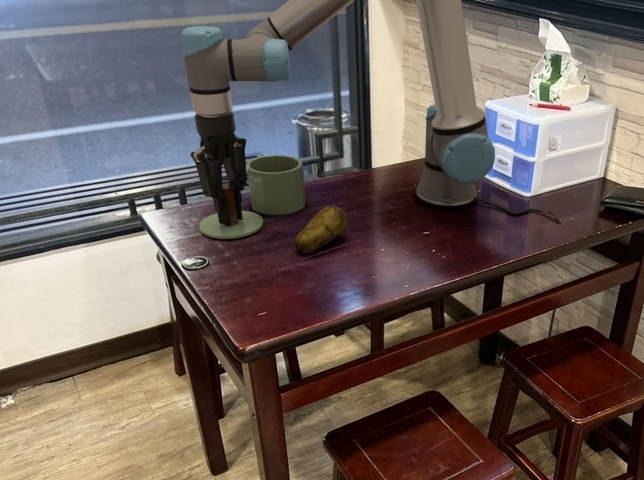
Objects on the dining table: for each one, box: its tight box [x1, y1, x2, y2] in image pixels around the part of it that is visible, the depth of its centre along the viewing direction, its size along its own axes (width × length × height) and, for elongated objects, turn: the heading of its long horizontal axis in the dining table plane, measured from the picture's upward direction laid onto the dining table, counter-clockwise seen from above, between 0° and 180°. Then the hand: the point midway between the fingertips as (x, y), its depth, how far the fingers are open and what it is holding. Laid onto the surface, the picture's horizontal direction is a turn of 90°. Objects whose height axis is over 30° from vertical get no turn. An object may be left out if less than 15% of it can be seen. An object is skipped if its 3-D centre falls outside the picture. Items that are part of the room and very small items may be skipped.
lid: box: [198, 183, 264, 240], centre depth 133 cm, size 14×14×10 cm
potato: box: [294, 205, 349, 254], centre depth 129 cm, size 8×13×8 cm, turn 123°
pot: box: [246, 154, 306, 216], centre depth 145 cm, size 13×13×10 cm
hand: (231, 220), depth 135 cm, fingers closed on lid, 3 cm apart
